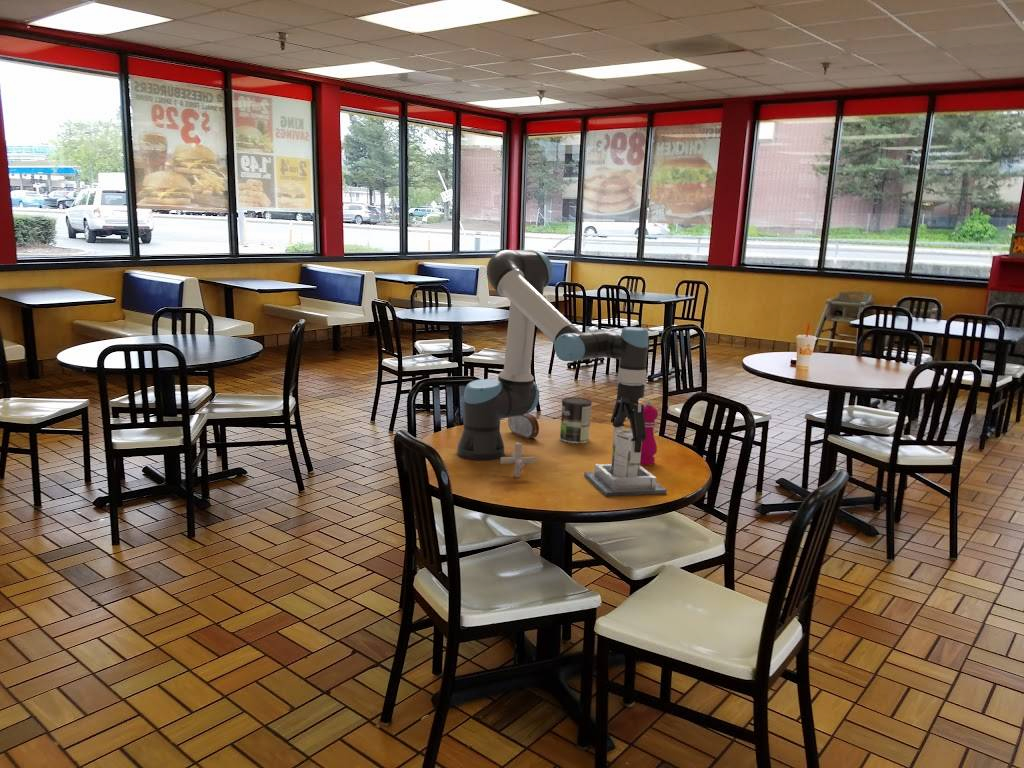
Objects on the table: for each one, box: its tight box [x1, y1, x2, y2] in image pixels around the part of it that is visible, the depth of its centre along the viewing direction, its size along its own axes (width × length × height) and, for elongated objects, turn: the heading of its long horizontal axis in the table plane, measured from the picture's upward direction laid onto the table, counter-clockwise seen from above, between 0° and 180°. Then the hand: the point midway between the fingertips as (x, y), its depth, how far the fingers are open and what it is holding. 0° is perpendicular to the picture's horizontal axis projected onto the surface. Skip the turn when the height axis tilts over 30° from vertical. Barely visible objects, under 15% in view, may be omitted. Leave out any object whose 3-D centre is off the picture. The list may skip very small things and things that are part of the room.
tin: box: [507, 413, 540, 439], centre depth 264 cm, size 15×3×8 cm, turn 37°
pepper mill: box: [639, 400, 659, 466], centre depth 237 cm, size 7×7×20 cm
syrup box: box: [611, 429, 640, 477], centre depth 215 cm, size 6×6×14 cm
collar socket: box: [583, 463, 668, 498], centre depth 216 cm, size 18×18×4 cm
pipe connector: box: [499, 442, 536, 478], centre depth 219 cm, size 10×10×10 cm
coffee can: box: [559, 396, 593, 444], centre depth 261 cm, size 10×10×14 cm
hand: (625, 455), depth 215 cm, fingers open, 13 cm apart
